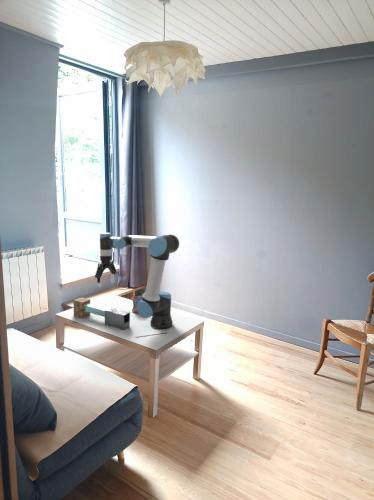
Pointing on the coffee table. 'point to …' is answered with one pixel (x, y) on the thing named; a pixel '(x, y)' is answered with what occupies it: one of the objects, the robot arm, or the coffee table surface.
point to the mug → (135, 301)
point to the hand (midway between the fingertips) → (106, 284)
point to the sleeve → (117, 318)
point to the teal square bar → (94, 309)
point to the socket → (80, 307)
